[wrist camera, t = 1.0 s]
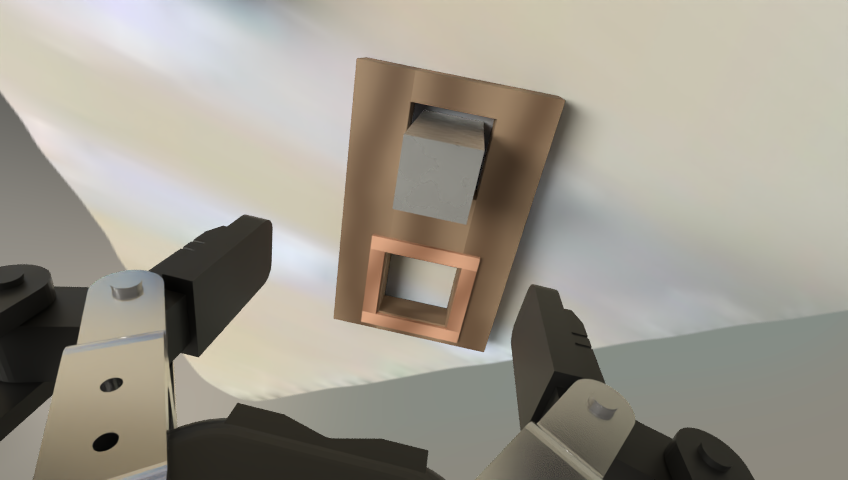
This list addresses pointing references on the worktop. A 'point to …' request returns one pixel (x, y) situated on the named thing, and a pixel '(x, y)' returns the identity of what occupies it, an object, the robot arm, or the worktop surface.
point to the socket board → (426, 236)
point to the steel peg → (439, 166)
